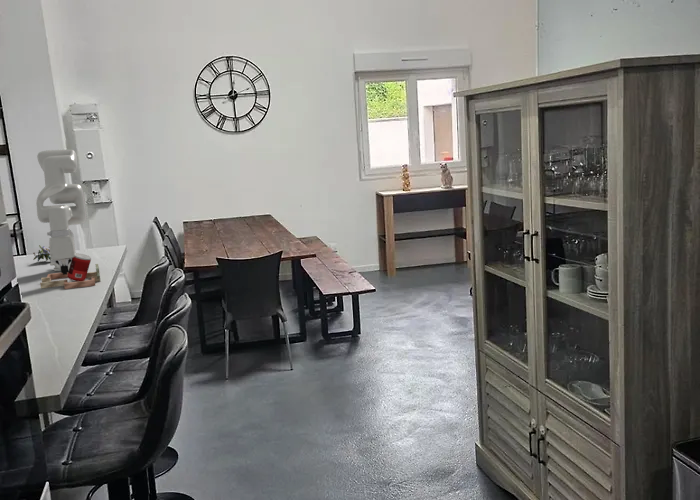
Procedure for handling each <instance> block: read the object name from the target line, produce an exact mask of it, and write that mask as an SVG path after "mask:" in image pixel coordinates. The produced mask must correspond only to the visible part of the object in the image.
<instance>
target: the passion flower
mask: <svg viewBox="0 0 700 500" xmlns="http://www.w3.org/2000/svg"><path fill="white" fill-rule="evenodd" d="M38 247H39V249H38V251H37V255H36V253H35V252H32V253H33V255H34V257H33V261H35V260H36V259H37V262H39V261H40V260H44V259H45V261H50V260H51V258H50V249H49V247H47V246H41V245H38ZM40 249H41V250H40Z"/></svg>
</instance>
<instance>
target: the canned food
mask: <svg viewBox="0 0 700 500" xmlns="http://www.w3.org/2000/svg"><path fill="white" fill-rule="evenodd" d="M91 261H92V256H89V255H87V254H83V253H75V257H74V258H72V261H71V264H70V268H69V272H68V277H67V278H68V279H70V280H72V281H74V282H79V281H86V279H87V278H86V276H87V273H89V272H88V271H89V269H90V264H91Z"/></svg>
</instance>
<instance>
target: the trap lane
mask: <svg viewBox="0 0 700 500" xmlns="http://www.w3.org/2000/svg"><path fill="white" fill-rule="evenodd" d="M100 273H101V272H100V267H99V263H95V271H90V272H87V276H86V279H88V280H84V281H72V282H70V281H68V279H67V278H68V272H67V275H66V274H65V275H63V273H61V272H55V273H48V274H47V276H46V277H41V282H39V283H40V289H48V288H55V287H63V286H64V290H68V289H69V290H70V289H76V288H85V287H86V288H87V287H93V286H94V287H95V286H96V282H101V274H100ZM57 279H60V280H57Z"/></svg>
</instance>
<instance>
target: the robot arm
mask: <svg viewBox="0 0 700 500" xmlns="http://www.w3.org/2000/svg"><path fill="white" fill-rule="evenodd" d="M36 156H37V157H36V158H37V162H38V164H39V166H40V168H41V169H42V171H43V175H44V187H43V188H42V189H41V191H39V194H38V195H37V198H36V205H35V206H36V215H37V219H38V221H40V223H43V224H45V223H47V224H48V223H49V230H50V231H49V232H47V233H46V235H47V236H50V238H49V241H48V245H49V246H48V249H50V258H51V260H49V261H50V262H49V265H50V266H52V267H53V266H54V267H53V271H54V272H60V273H63V275H65V274H66V275H67V272H69V268H70V264H71V261H72V258H74V257H75V253H76V245H75V236H74V233H73V231H72V230H71V229H70V228H69V226H75V225H83V224H85V223H86V222H87V219H88V218H87V216H88V215H87V209H86V201H85V200H86V199H85V194H84V190H83V187H82V186H81V185H80V184H79V183H78V184H77V183H70V184H68V183H67V180H66V174H73V173H77V171H78V156H77V153H76V151H75V150H74V149H49V150H42V151H39V152H38V153H37V155H36ZM47 199H49V201H50V203H51V204H53V205H44V202H45V201H46V200H47ZM67 204H74V205H67Z"/></svg>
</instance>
